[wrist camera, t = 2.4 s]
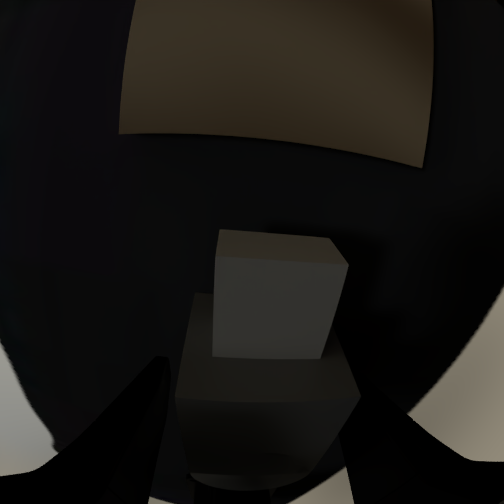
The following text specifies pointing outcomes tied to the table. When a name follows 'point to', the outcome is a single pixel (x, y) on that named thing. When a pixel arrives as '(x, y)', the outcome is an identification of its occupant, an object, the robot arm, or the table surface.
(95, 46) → the table surface
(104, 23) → the table surface
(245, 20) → the trivet
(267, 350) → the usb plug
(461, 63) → the table surface
